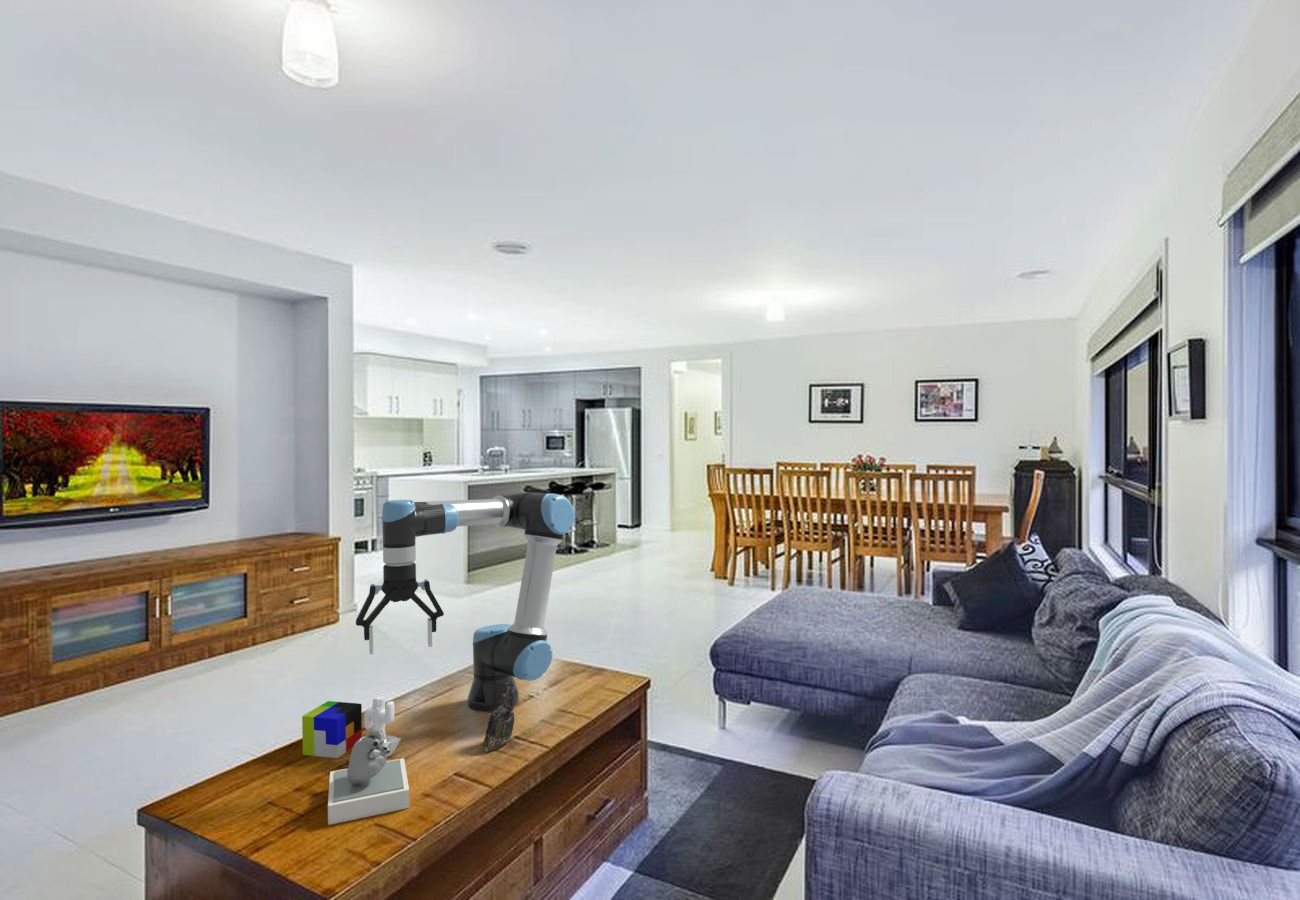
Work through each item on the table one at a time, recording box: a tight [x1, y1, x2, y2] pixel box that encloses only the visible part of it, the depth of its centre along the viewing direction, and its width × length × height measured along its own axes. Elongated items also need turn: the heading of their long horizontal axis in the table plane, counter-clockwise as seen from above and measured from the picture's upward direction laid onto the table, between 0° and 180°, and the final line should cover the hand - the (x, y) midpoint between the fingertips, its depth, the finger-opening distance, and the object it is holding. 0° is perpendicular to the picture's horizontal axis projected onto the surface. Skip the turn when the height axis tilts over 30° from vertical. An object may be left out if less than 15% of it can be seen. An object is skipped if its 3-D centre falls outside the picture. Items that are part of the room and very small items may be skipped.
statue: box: [482, 682, 515, 752], centre depth 179 cm, size 6×12×15 cm, turn 155°
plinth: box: [327, 757, 410, 826], centre depth 152 cm, size 16×16×4 cm
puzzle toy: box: [301, 700, 363, 759], centre depth 177 cm, size 10×10×10 cm
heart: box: [347, 728, 391, 786], centre depth 152 cm, size 10×10×12 cm
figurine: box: [363, 695, 402, 758], centre depth 173 cm, size 7×9×15 cm
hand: (401, 649), depth 168 cm, fingers open, 13 cm apart
